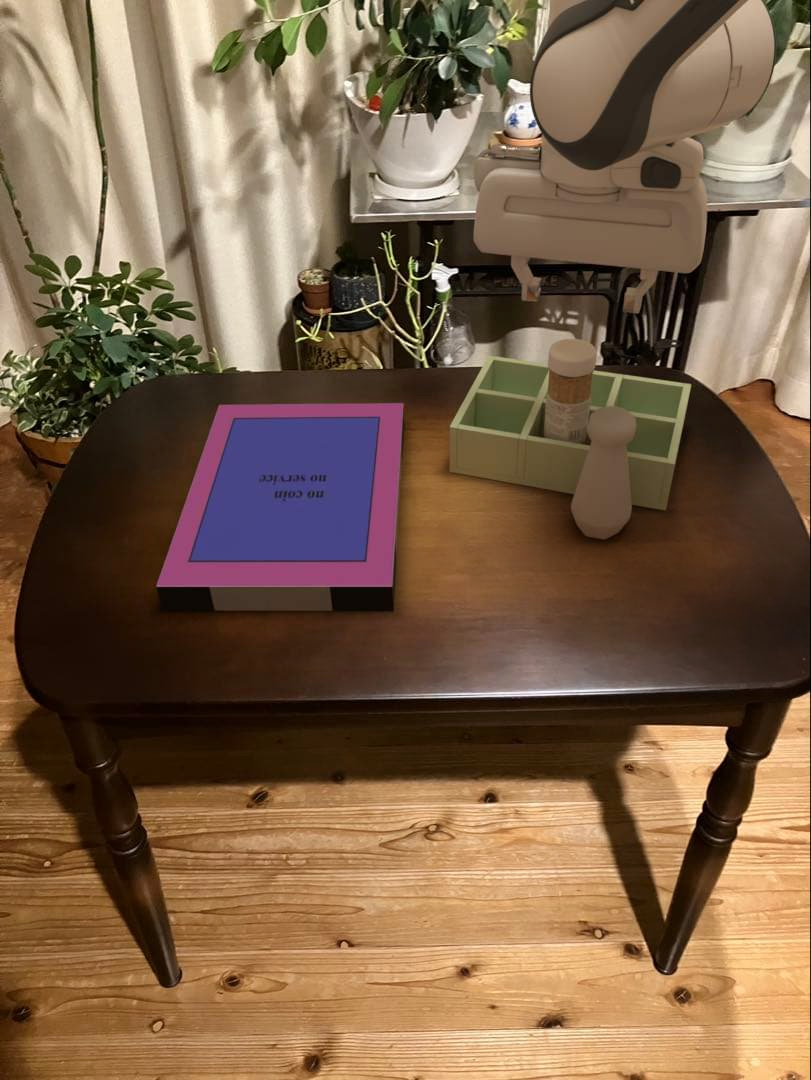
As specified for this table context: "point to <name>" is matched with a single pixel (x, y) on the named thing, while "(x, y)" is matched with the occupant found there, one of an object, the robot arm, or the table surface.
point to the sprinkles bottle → (569, 390)
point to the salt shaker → (605, 475)
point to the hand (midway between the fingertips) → (580, 304)
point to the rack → (530, 459)
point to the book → (291, 511)
